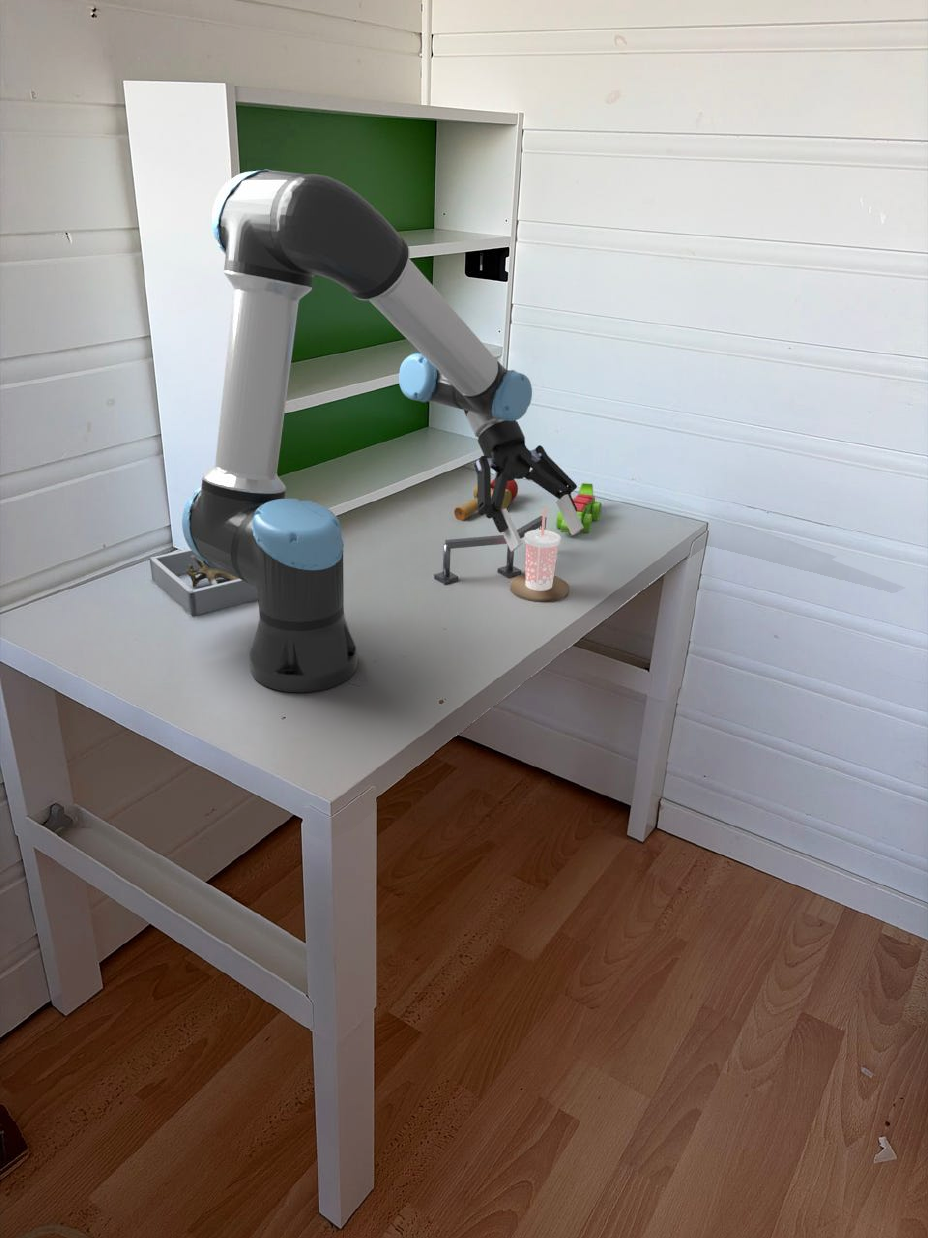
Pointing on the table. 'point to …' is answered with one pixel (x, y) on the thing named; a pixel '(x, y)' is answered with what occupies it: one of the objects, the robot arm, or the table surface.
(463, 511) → the kendama
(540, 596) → the walnut pad
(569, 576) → the table surface
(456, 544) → the bent rail
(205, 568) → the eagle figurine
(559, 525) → the toy crocodile
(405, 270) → the robot arm
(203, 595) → the slate open-top tray
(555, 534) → the beverage cup
